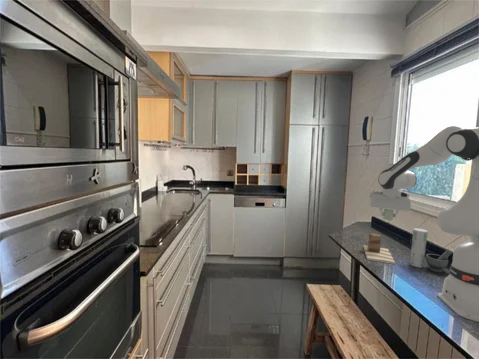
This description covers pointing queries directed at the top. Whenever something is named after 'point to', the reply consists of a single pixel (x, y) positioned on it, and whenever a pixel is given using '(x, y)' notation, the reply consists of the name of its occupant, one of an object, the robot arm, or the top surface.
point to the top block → (374, 238)
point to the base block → (373, 247)
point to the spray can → (418, 247)
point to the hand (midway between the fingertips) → (388, 216)
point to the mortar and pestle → (438, 261)
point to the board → (379, 255)
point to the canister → (388, 214)
